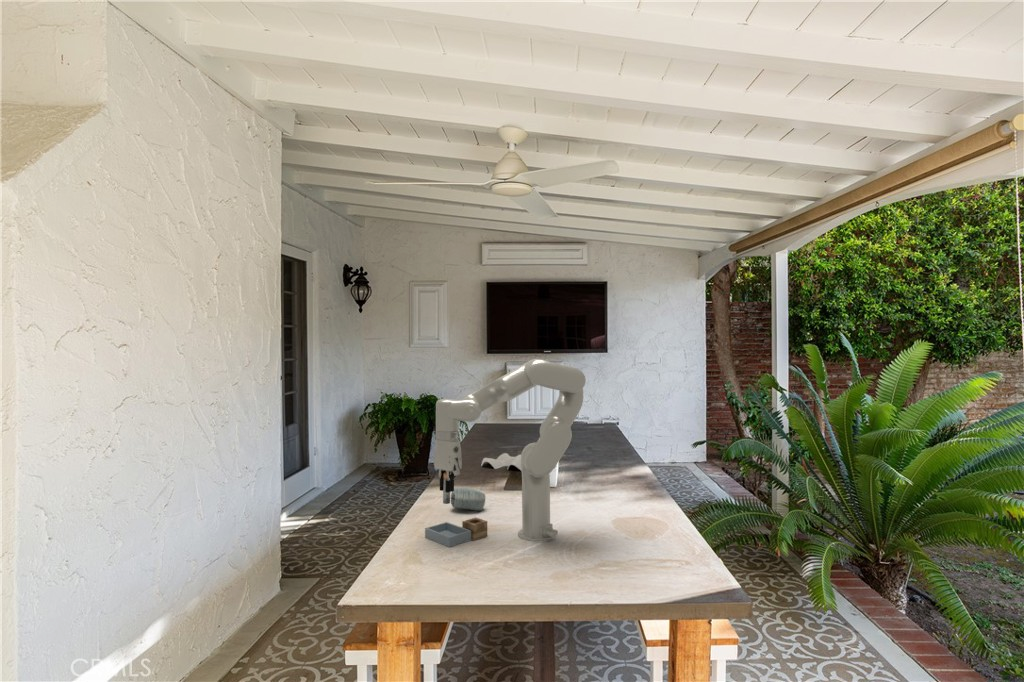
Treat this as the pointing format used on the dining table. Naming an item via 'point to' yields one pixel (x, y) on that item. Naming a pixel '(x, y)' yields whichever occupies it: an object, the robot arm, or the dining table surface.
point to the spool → (468, 498)
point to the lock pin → (445, 495)
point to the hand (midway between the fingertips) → (446, 490)
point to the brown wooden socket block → (476, 527)
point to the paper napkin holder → (504, 461)
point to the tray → (448, 534)
